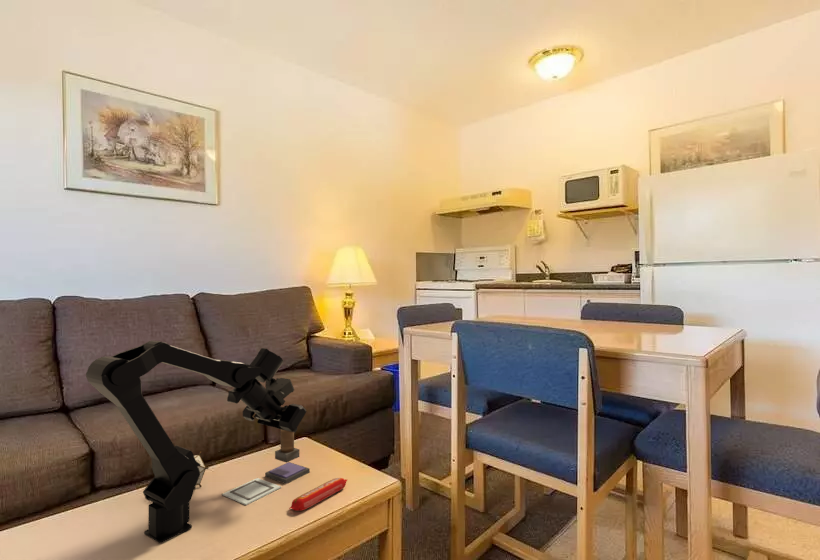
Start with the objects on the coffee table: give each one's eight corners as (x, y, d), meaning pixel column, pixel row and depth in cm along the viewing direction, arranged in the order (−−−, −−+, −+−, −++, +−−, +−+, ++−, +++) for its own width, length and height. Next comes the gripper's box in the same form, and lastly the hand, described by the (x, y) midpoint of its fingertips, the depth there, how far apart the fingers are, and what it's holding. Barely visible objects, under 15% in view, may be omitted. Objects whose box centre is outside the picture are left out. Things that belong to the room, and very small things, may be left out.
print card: (246, 505, 97) (245, 503, 97) (222, 495, 102) (222, 493, 102) (281, 487, 105) (281, 485, 105) (257, 478, 110) (257, 477, 110)
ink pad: (286, 484, 107) (286, 478, 107) (265, 476, 112) (265, 471, 112) (309, 472, 114) (309, 467, 114) (289, 465, 118) (289, 460, 118)
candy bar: (338, 484, 108) (338, 472, 108) (349, 488, 105) (349, 476, 105) (286, 512, 94) (286, 498, 94) (297, 517, 92) (297, 503, 92)
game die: (193, 505, 105) (194, 482, 99) (161, 492, 105) (160, 469, 100) (215, 473, 112) (217, 450, 107) (185, 461, 112) (185, 438, 107)
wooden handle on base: (286, 462, 110) (286, 411, 110) (275, 458, 112) (275, 409, 112) (299, 456, 113) (299, 407, 114) (288, 453, 116) (288, 405, 116)
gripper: (300, 373, 105) (331, 408, 114) (252, 366, 115) (284, 398, 124) (274, 414, 98) (310, 447, 107) (225, 402, 108) (261, 433, 117)
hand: (291, 429), depth 114 cm, fingers closed on wooden handle on base, 3 cm apart
